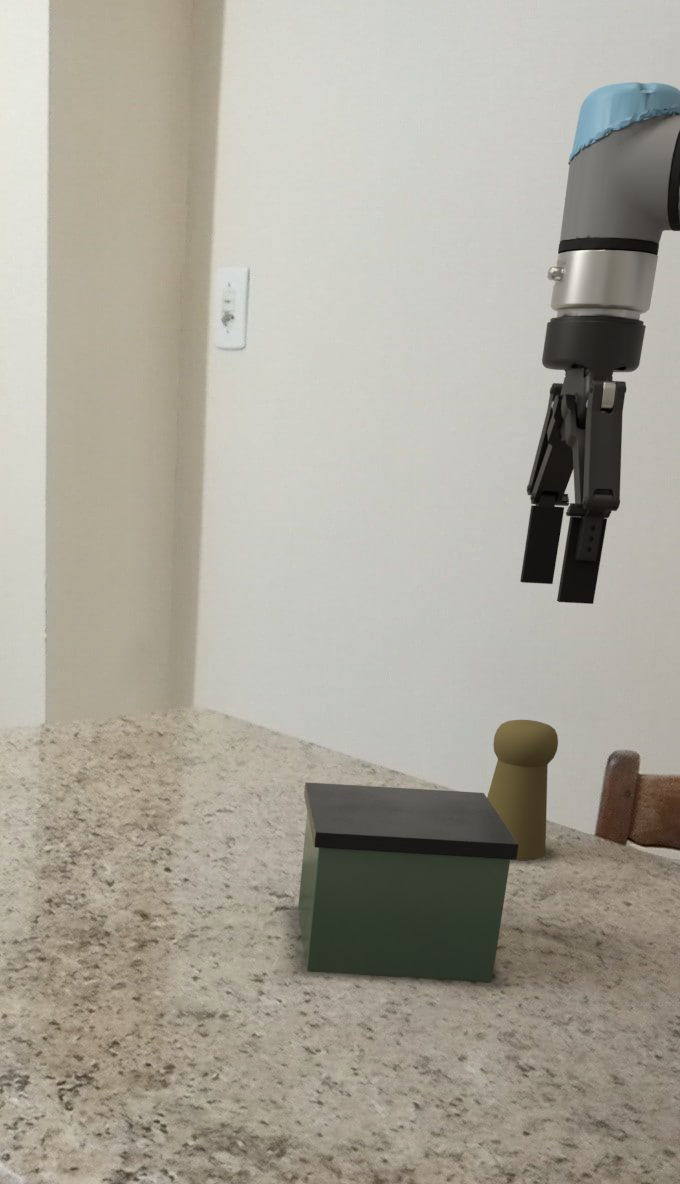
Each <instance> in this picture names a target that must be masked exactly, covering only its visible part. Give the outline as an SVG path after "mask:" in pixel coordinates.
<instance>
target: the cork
mask: <svg viewBox="0 0 680 1184" xmlns="http://www.w3.org/2000/svg"><path fill="white" fill-rule="evenodd" d="M558 736H559V735H558V734H557V731H556V729H555V728H554V727H553V726H551V725H550V724H547V723H545V722H542V721H539V720H538V721H537V720H531V719H512V720H507V721H505V722H503V723H501V724H500V725H499V726H498V727H497V728H496V731H495V733H494V737H493V745H492V746H493V752H494V754H495V756H496V758H497V762H496V764H495V768H494V771H493V775H492V779H491V783H490V786H489V790H488V793H487V796H486V797H487V799H488V800H489V802H490V803H491V805H492V806H493V808H494V809H495V810H496V812H497V813H498V815H499V816H500V818H501V819H502V821H503V822H504V824H505V825H506V827H507V828H508V830H509V831H510V833H511V834H512V836H513V837H514V839H515V840H516V841H517V843H518V844H519V846H518V853H517V859H511V860H512V861H514V860H515V861H532V860H537V859H542V858H544V857H545V856H546V850H547V849H546V848H547V847H546V845H547V803H548V802H547V801H548V765H549V763H550V762H552V761H553V759H554V758H555V756H556V754H557V751H558V747H559V737H558Z"/></svg>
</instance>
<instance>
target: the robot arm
mask: <svg viewBox="0 0 680 1184" xmlns="http://www.w3.org/2000/svg"><path fill="white" fill-rule="evenodd" d="M572 145H573V146H572V150H571V153H569V156H568V163H567V164H568V165H569V167H568V173H567V181H566V190H565V197H564V204H563V205H564V207H563V213H562V222H561V230H560V237H559V244H558V249H557V254H558V255H557V259H556V266H550V268H549V269H548V271H547V279H548V280H549V281H553V282H554V284H553V286H552V293H551V294H552V295H551V300H550V308H551V310H553V311H554V312H557V313H556V317H552V318H550V319H549V322H547V323H546V330H545V338H544V342H543V343H544V345H543V351H542V358H541V364H542V366H543V367H544V368H546V369H548V370H555V371H564V374H565V375H564V377H563V382H562V383H560V382H552V384H551V387H550V388H549V398H548V402H547V408H546V409H547V410H546V413H545V418H544V421H543V426H542V430H541V433H540V437H539V441H538V445H537V449H536V452H535V453H536V454H535V456H534V461H533V466H532V468H531V473H530V477H529V481H528V485H527V486H526V494H527V496H530V497H529V499H530V504H531V506H530V512H529V518H528V519H529V520H528V526H527V532H526V539H525V547H524V553H523V560H522V566H521V567H522V568H521V574H520V580H519V581H520V582H521V583H522V584H523V583H525V584H541V585H543V584H544V585H553V584H554V583H553V582H554V576H555V571H556V570H555V569H556V564H557V557H558V551H559V545H560V537H561V532H562V526H563V518H564V512H565V507H567V510H566V512H565V516H566V517H569V522H568V528H567V533H566V541H565V547H564V553H563V554H564V555H563V560H562V567H561V573H560V579H559V585H558V592H557V597H556V598H557V599H556V602H557V603H570V604H588V605H594V601H595V595H596V589H597V583H598V577H599V571H600V566H601V559H602V553H603V546H604V541H605V540H604V539H605V536H606V535H605V534H606V530H607V523H608V519H609V518H610V516H611V514H612V512H617V511H618V509H619V508H620V504H621V475H622V474H621V471H622V469H621V468H622V443H623V441H622V439H623V412H624V405H625V396H626V392H627V382H626V381H623V380H622V381H621V380H620V381H619V380H613V379H614V377H613V375H614V373H632V372H634V371H636V370H638V368H639V366H640V363H641V358H642V357H641V356H642V353H643V352H642V351H643V345H644V340H645V333H646V328H647V326H646V325H645V324H644V323H645V322H644V321H643V320H640V318H641V315H643V314H646V313H647V312H648V311H649V310H650V309H651V303H652V296H653V290H654V284H655V279H656V272H657V266H658V260H659V256H658V254H659V249H660V243H661V238H662V236H663V235H662V234H663V232H665V231H673V232H680V89H679V88H678V87H675V86H673V85H670V84H666V83H659V82H647V83H646V82H645V83H644V82H643V83H642V82H637V81H636V82H635V81H634V82H633V81H631V82H620V83H619V82H618V83H614V84H613V83H612V84H608V85H605V86H601V87H598V88H595V90H593V91H592V92H590V93H589V94H588V95H587V96H586V97H585V99H584V100H583V102H582V103H581V106H580V109H579V113H578V118H577V124H576V129H575V135H574V140H573V144H572ZM572 475H573V490H574V502H570V499H569V493H566V491H567V488H568V485H569V481H570V479H571V477H572ZM569 502H570V503H569Z"/></svg>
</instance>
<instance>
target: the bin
mask: <svg viewBox="0 0 680 1184" xmlns="http://www.w3.org/2000/svg"><path fill="white" fill-rule="evenodd" d="M487 797H488V796H487V795H486V794H485V793H484V792H475V791H459V790H442V789H441V790H440V789H424V788H409V787H408V788H406V787H389V786H372V785H357V784H340V783H323V782H321V783H320V782H305V783H304V792H303V798H304V801H305V805H306V806H305V807H306V821H305V832H304V842H303V852H302V863H301V873H300V884H299V895H298V896H299V897H298V907H297V912H298V917H299V918H298V919H299V924H300V925H299V926H300V932H301V938H302V939H301V940H302V946H303V952H304V953H303V954H304V960H305V967H306V971H307V972H321V973H335V974H336V973H337V974H351V975H366V976H367V975H368V976H383V977H398V978H399V977H400V978H415V979H430V980H431V979H432V980H444V981H445V980H446V981H460V982H461V981H462V982H475V983H476V982H477V983H492V982H493V976H494V970H495V964H496V956H497V950H498V945H499V943H498V942H499V937H500V930H501V923H502V915H503V910H504V903H505V898H506V890H507V885H508V879H509V871H510V865H511V860H512V859H517V853H518V846H519V844H518V843H517V841H516V840H515V839H514V837H513V836H512V834H511V833H510V831H509V830H508V828H507V827H506V825H505V824H504V822H503V821H502V819H501V818H500V816H499V815H498V813H497V812H496V810H495V809H494V808H493V806H492V805H491V803H490V802H489V800H488V799H487Z"/></svg>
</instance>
